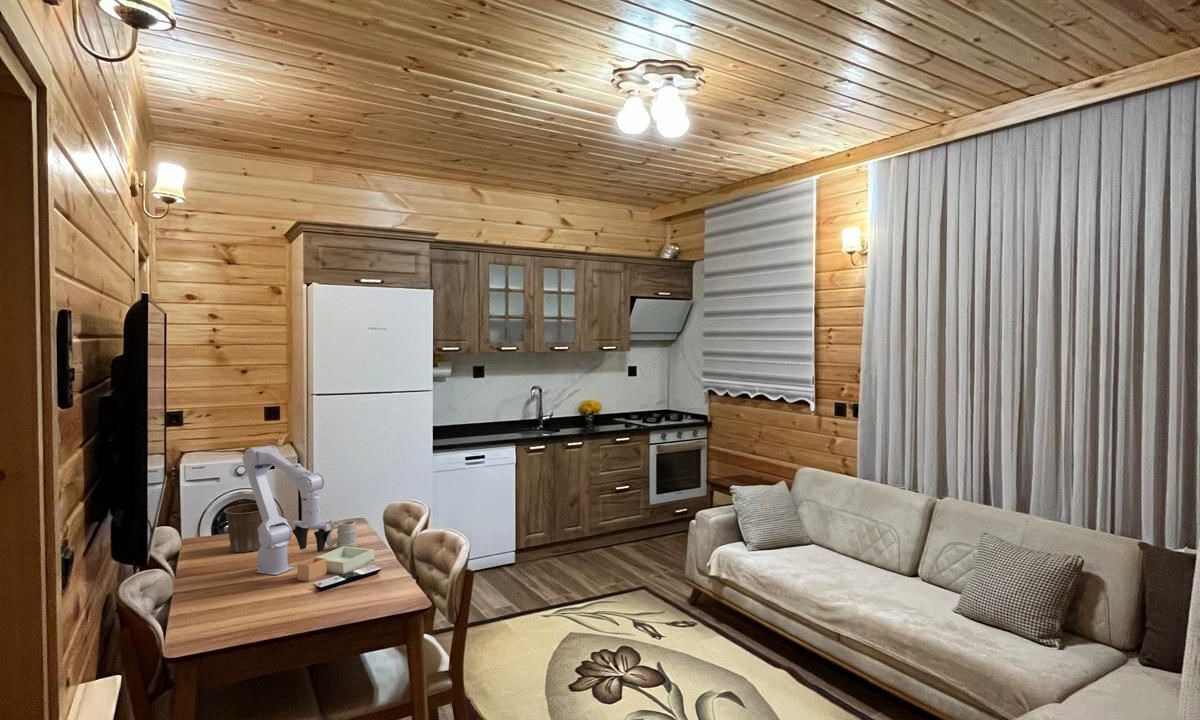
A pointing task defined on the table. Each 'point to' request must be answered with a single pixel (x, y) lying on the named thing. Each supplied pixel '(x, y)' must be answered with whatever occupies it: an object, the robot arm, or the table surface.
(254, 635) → the table surface
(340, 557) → the big crate
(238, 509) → the plant pot
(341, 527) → the mug
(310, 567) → the box
